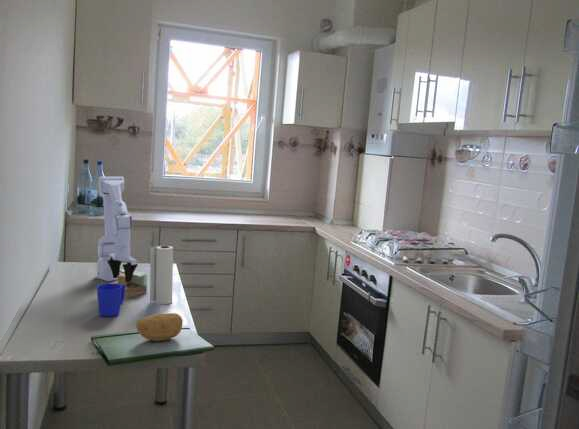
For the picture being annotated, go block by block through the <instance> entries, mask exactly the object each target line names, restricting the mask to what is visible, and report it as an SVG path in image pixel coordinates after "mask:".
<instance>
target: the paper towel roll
mask: <svg viewBox="0 0 579 429" xmlns="http://www.w3.org/2000/svg"><path fill="white" fill-rule="evenodd" d="M173 265H174V247H173V246H171V245H160V246H159V245H157V246H151V247H150V266H149V267H150V268H149V269H150V270H149V273H150V274H149V276H150V277H149V278H150V280H149V302H150V303H153V302H155V303H156V304H158V305H170V304H172V303H173V283H174V282H173V276H174V275H173V273H174V272H173V271H174V270H173V269H174V268H173V267H174V266H173Z"/></svg>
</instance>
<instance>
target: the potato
mask: <svg viewBox="0 0 579 429" xmlns="http://www.w3.org/2000/svg"><path fill="white" fill-rule="evenodd" d="M183 321H184V320H183V318H182V316H181V315H180V314H178V313H176V312H175V313H174V312H171V313H156V314H152V315H147V316H144V317H141V318H140V319H138V321H136V325H135V327H136V330H137V332H138V334H140V335H141V337H143V338H144V339H146V340H148V341H150V340H153V341H152V342H161V341H160V340H163V341H167V340H170V339H173V338H175V337H177V336H178V335H180V333H181V331H182V328H183ZM157 340H159V341H157Z"/></svg>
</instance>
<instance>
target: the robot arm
mask: <svg viewBox="0 0 579 429" xmlns="http://www.w3.org/2000/svg"><path fill="white" fill-rule="evenodd" d="M125 187H126V186H125V178H124V177H123V176H121V175H120V176H99V177H98V179H97V192H98V193H97V194H98V196H100V197H102V199H103V215H104V217H103V218H104V235H103V236H102V237H101V238H99V239H98V241H97V255H98V259H97V261H96V275H95V276H94V278H96V279H99V280H102V281H105V282H113V281H116V280H117V281H118V275H120V270H121V264H122V262H123V264H122V268H123V270H124V271H125V280H126V282H130V281H131V280H132V276H133V273H134V271H136V269H137V267H138V263H137V262H138V261H137V260H138V259H136V258H134V257H133V256H131V230H132V229H133V217H132V215H131V213H130V212H128V207H127V203H126V202H124V201H123V198H122V194H123V192H124V190H125Z"/></svg>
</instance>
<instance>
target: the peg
mask: <svg viewBox="0 0 579 429" xmlns="http://www.w3.org/2000/svg"><path fill="white" fill-rule="evenodd" d="M117 282H118V284H125V287H127V282H126V280H125V275H124V274H119V275H118V279H117Z"/></svg>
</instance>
